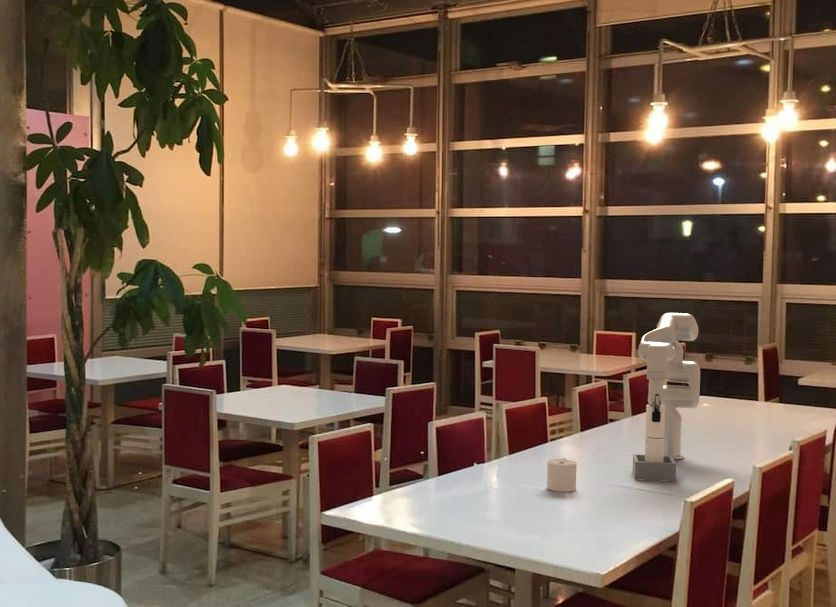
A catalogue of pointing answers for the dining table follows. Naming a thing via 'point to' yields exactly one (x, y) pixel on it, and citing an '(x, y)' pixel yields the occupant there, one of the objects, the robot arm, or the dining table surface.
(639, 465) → the box
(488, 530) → the dining table surface
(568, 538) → the dining table surface
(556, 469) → the toilet tissue
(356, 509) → the dining table surface
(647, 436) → the cylindrical container
